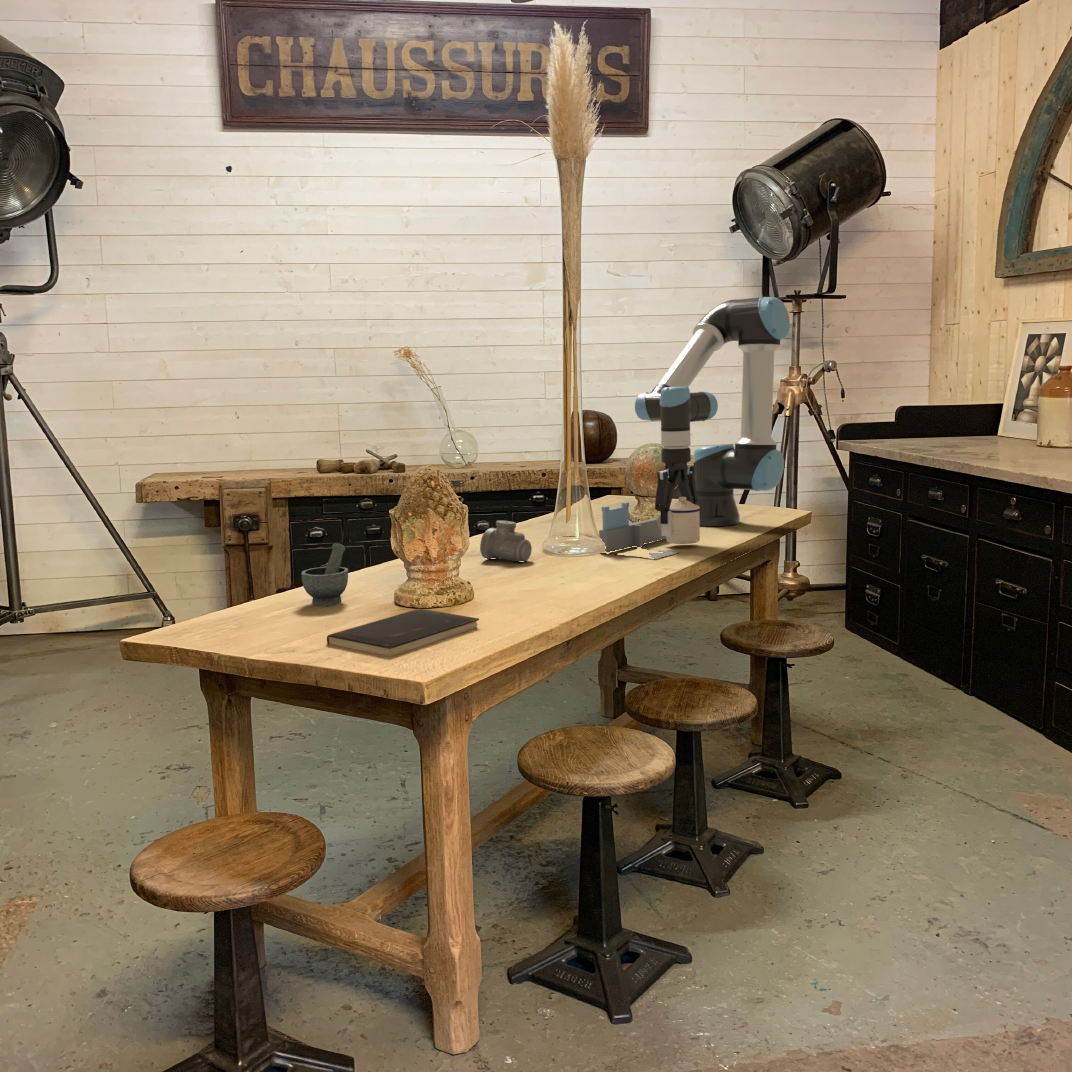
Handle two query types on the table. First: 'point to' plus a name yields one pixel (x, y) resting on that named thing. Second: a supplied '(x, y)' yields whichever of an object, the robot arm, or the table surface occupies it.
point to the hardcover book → (402, 631)
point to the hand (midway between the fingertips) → (677, 533)
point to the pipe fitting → (505, 543)
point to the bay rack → (634, 536)
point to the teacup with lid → (683, 522)
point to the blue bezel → (615, 516)
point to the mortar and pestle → (327, 580)
